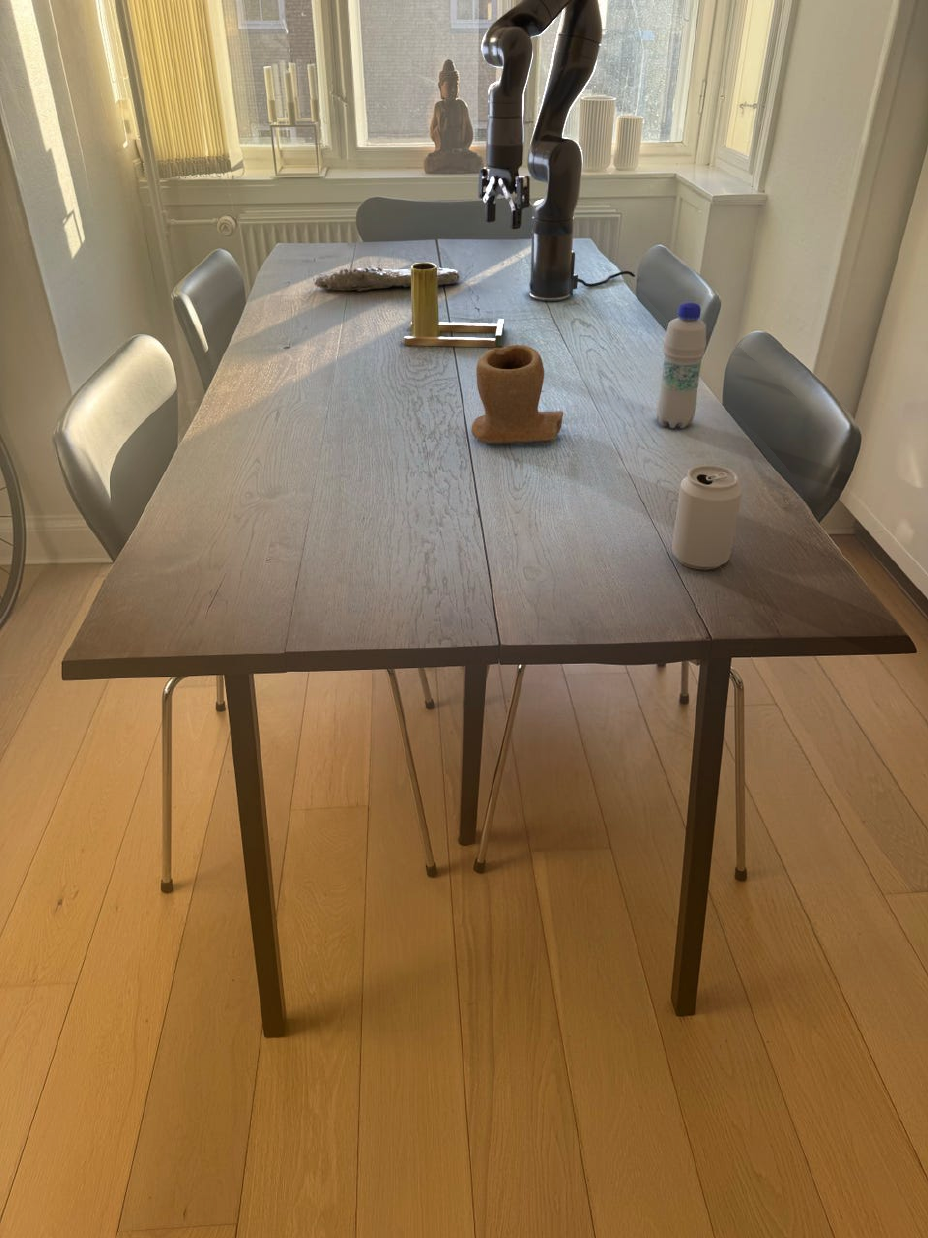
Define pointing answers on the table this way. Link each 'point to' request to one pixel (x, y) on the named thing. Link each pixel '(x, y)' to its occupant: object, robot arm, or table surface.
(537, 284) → the robot arm
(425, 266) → the vase
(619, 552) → the table surface
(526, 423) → the clay pipe
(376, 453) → the table surface
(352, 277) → the long grey stone
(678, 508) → the can
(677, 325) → the bottle
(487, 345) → the u-shaped frame
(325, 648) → the table surface
